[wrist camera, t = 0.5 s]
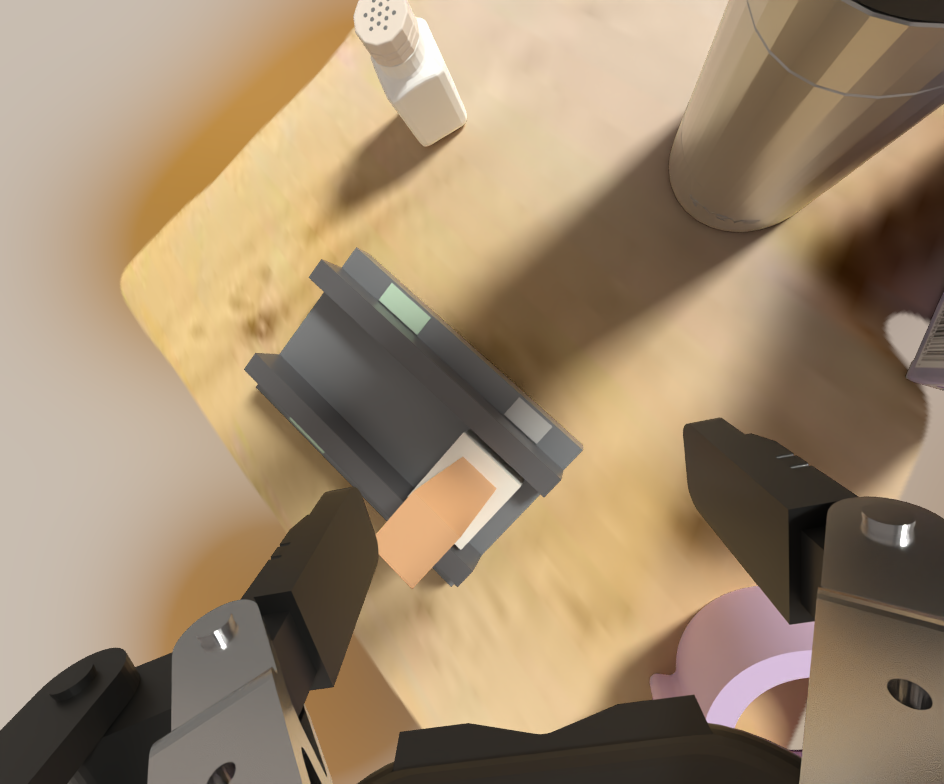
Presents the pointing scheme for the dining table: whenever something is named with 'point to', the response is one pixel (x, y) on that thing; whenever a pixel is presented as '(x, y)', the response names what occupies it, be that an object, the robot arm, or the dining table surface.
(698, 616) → the lavender double ring holder
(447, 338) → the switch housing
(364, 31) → the salt shaker
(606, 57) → the dining table surface
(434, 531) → the switch lever
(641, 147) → the dining table surface
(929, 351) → the cake pan box
